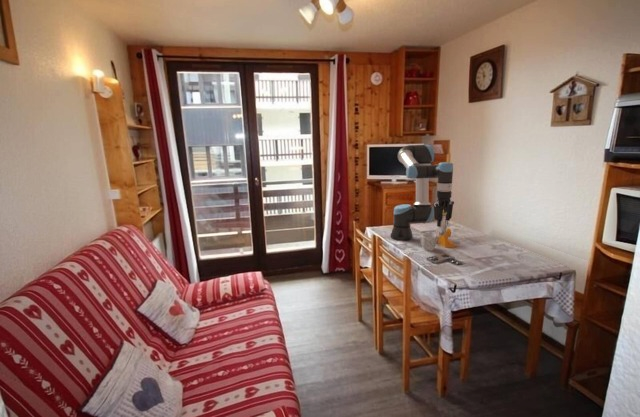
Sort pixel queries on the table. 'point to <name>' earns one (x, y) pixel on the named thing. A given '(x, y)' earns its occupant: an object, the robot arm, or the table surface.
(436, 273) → the table surface
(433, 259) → the chain end
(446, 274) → the table surface
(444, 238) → the bracket
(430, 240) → the mug
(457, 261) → the grey latch plate
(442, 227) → the pin
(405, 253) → the table surface
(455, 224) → the table surface
